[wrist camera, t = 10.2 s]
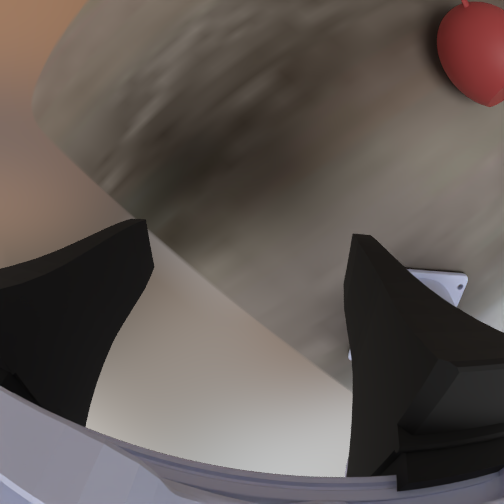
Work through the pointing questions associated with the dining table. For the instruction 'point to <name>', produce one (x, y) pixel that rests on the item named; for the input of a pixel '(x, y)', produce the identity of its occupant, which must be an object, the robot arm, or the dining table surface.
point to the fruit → (474, 50)
